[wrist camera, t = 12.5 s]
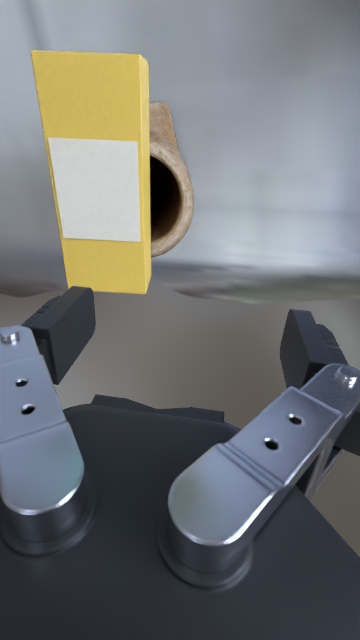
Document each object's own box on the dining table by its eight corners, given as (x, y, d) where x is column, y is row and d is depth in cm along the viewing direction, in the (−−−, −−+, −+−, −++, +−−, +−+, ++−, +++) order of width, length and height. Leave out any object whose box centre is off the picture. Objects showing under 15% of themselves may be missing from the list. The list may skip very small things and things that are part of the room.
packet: (53, 58, 22) (29, 50, 19) (148, 61, 22) (139, 53, 18) (81, 272, 30) (67, 290, 27) (151, 276, 29) (145, 295, 26)
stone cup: (209, 226, 41) (200, 268, 28) (117, 239, 43) (69, 284, 30) (190, 77, 34) (166, 39, 21) (82, 102, 36) (0, 82, 23)
